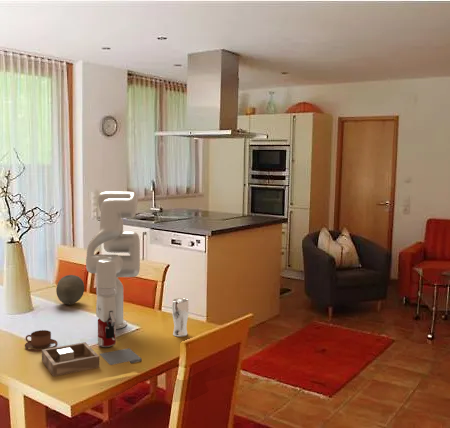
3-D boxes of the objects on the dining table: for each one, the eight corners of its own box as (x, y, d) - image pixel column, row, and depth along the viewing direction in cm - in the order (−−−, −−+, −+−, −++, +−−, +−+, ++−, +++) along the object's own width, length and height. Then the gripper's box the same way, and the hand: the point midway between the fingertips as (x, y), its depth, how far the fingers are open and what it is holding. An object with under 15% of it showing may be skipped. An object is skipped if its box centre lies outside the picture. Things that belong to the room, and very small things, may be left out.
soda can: (100, 349, 199) (100, 319, 197) (96, 343, 205) (95, 314, 203) (117, 346, 202) (117, 317, 200) (112, 340, 208) (112, 311, 206)
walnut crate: (41, 362, 188) (41, 349, 187) (85, 354, 196) (85, 342, 196) (53, 379, 174) (53, 365, 174) (99, 369, 183) (99, 356, 182)
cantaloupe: (50, 305, 260) (49, 275, 258) (72, 299, 271) (72, 271, 270) (68, 310, 252) (67, 280, 250) (90, 304, 263) (90, 275, 262)
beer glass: (185, 337, 217) (186, 303, 215) (169, 336, 218) (170, 301, 217) (190, 332, 224) (190, 298, 222) (174, 331, 225) (175, 297, 224)
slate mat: (99, 356, 195) (99, 353, 195) (129, 350, 201) (129, 348, 201) (110, 367, 185) (110, 364, 185) (141, 361, 191) (141, 358, 191)
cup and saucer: (23, 355, 195) (22, 339, 194) (26, 344, 206) (26, 329, 205) (56, 353, 198) (56, 337, 197) (57, 342, 209) (57, 327, 209)
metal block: (56, 360, 188) (56, 349, 187) (70, 357, 190) (70, 347, 190) (60, 365, 184) (59, 354, 183) (74, 362, 186) (73, 351, 186)
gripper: (89, 286, 206) (90, 329, 208) (104, 297, 191) (104, 344, 194) (108, 284, 210) (108, 326, 212) (123, 295, 195) (123, 340, 198)
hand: (106, 334), depth 203 cm, fingers closed on soda can, 6 cm apart
